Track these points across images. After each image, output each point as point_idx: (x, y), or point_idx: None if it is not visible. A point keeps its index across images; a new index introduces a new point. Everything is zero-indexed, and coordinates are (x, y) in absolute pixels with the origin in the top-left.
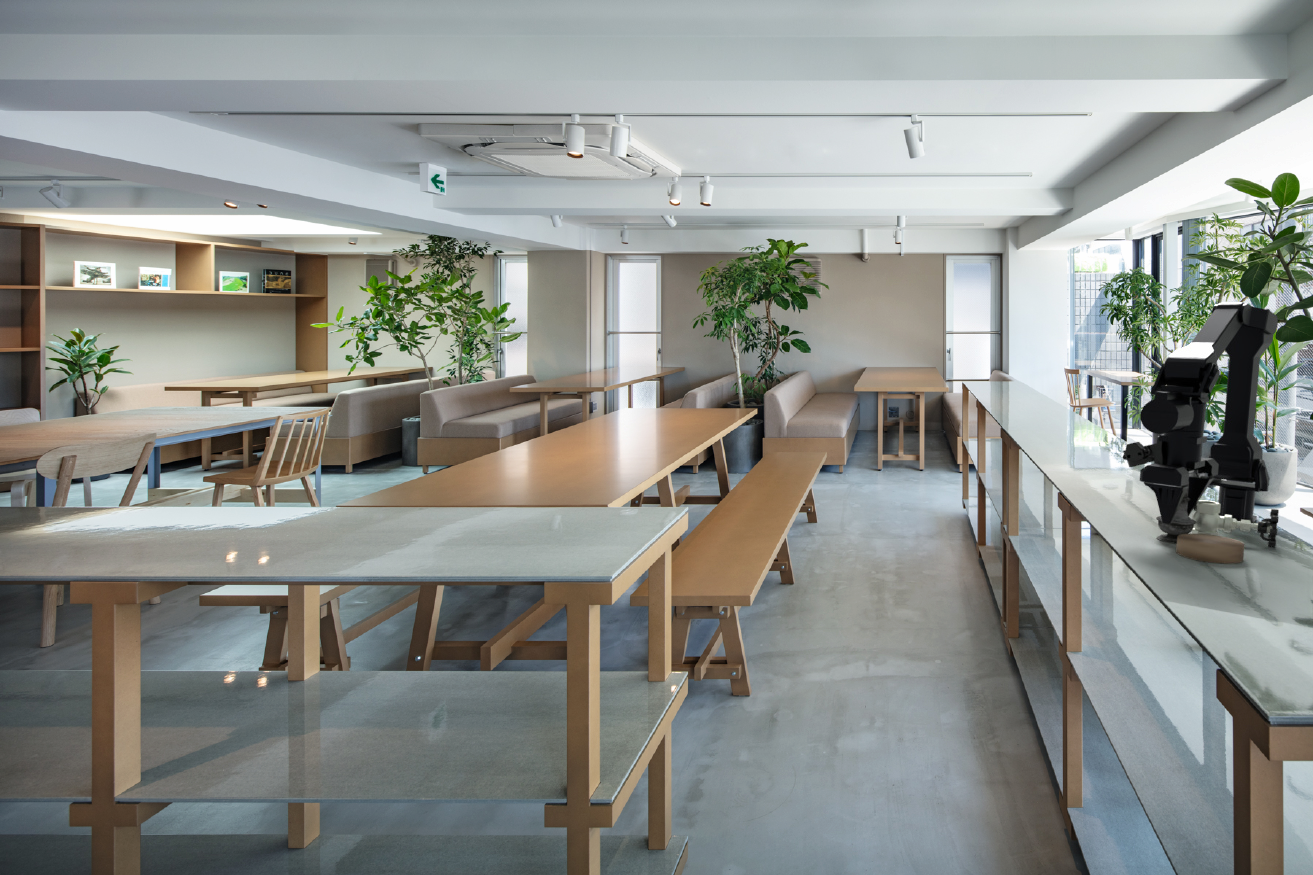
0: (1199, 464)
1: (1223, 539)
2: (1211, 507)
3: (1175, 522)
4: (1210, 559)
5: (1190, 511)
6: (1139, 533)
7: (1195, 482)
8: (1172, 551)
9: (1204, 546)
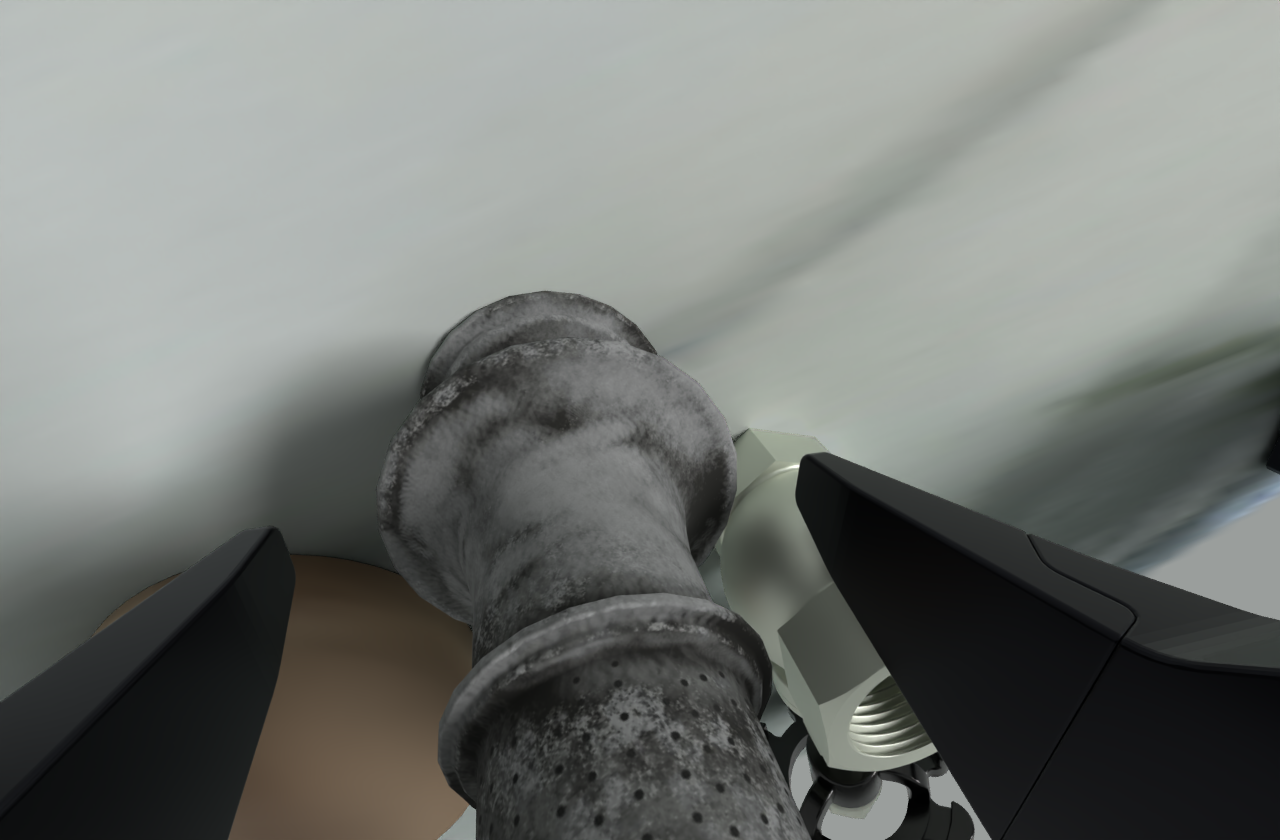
0: None
1: (397, 794)
2: (815, 736)
3: (410, 573)
4: None
5: (818, 550)
6: (551, 111)
7: None
8: (154, 559)
9: None
